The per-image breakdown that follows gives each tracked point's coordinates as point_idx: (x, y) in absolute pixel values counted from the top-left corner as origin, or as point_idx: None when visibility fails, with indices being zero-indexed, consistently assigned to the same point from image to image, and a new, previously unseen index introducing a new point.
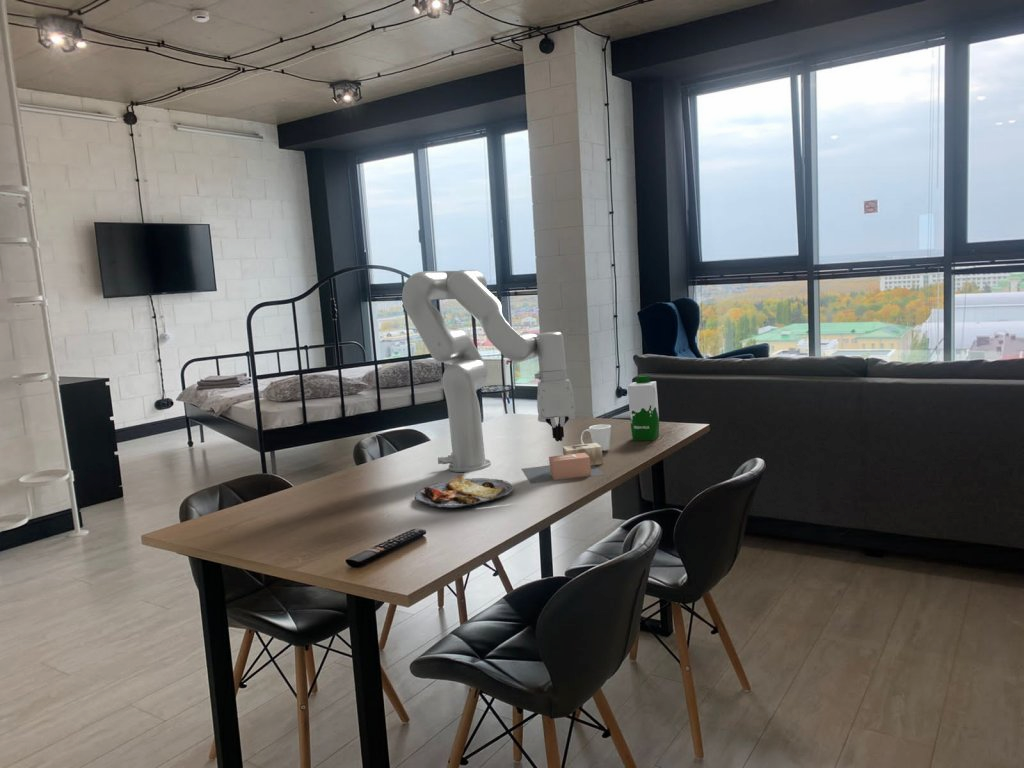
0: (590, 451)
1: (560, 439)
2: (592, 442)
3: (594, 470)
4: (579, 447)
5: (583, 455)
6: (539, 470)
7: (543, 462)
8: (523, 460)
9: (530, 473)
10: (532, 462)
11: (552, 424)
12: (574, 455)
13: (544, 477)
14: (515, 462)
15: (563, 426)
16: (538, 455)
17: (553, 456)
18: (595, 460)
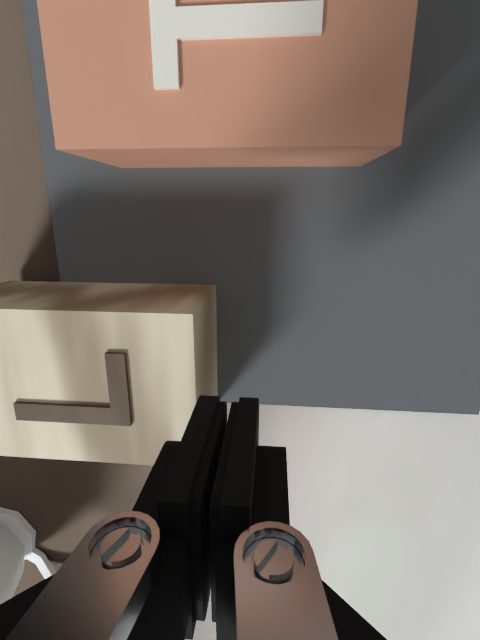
0: (20, 302)
1: (217, 403)
2: (4, 585)
3: None
4: (80, 370)
5: (77, 16)
6: (392, 317)
7: (309, 505)
8: (393, 591)
9: (470, 267)
10: (363, 533)
11: (304, 582)
12: (161, 36)
13: (421, 101)
14: (444, 577)
15: (116, 515)
16: None
17: (356, 135)
18: (34, 286)
